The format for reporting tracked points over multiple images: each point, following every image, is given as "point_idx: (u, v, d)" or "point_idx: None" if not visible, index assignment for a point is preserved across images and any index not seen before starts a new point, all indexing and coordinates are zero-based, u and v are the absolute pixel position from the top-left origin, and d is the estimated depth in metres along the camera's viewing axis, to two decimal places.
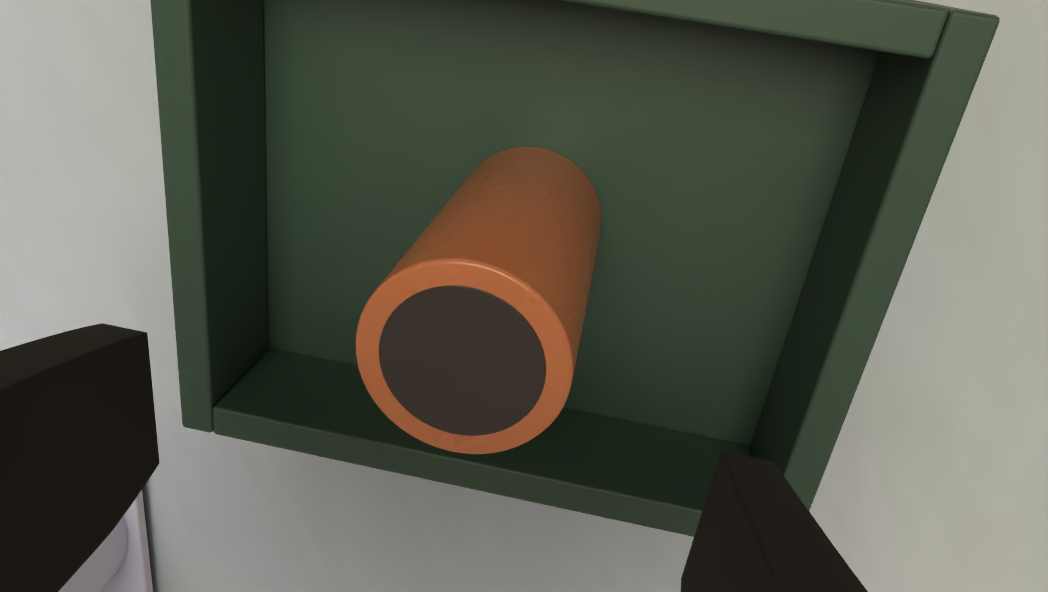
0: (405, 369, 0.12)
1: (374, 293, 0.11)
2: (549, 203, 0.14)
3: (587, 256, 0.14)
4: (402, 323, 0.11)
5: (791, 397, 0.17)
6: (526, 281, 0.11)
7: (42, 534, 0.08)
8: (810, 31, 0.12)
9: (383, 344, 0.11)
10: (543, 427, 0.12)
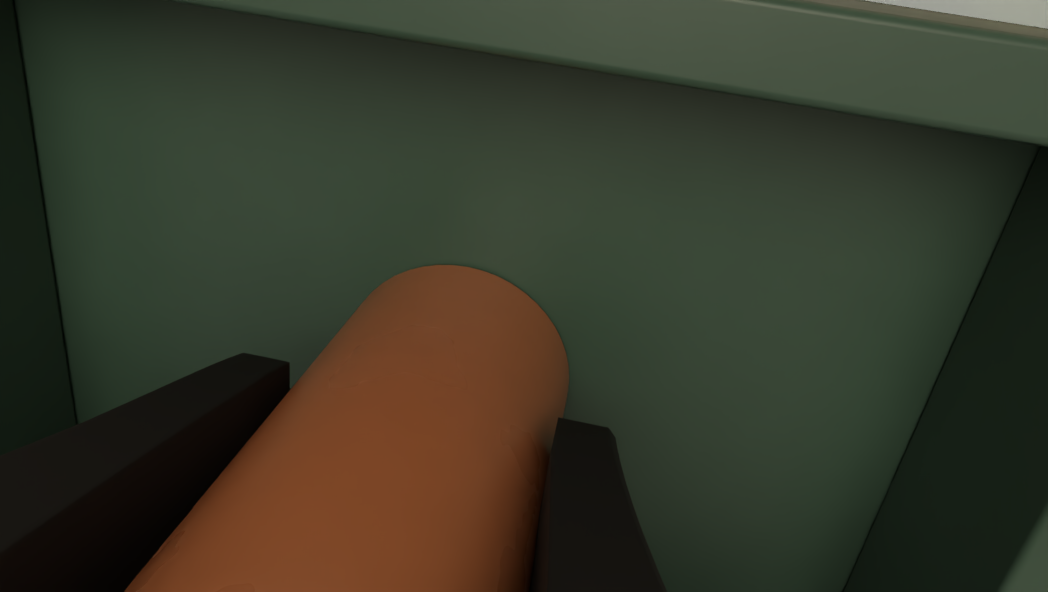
0: None
1: None
2: (458, 417, 0.08)
3: (529, 509, 0.08)
4: None
5: None
6: None
7: None
8: (977, 118, 0.06)
9: None
10: None
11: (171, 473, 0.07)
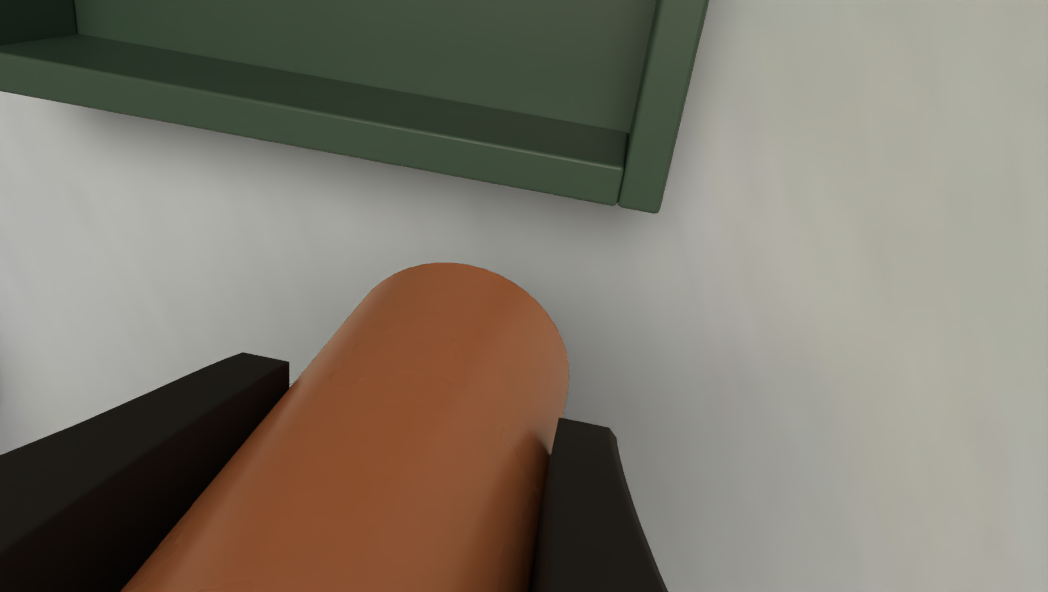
0: None
1: None
2: (458, 413, 0.08)
3: (529, 506, 0.08)
4: None
5: (656, 11, 0.14)
6: None
7: None
8: None
9: None
10: None
11: (170, 473, 0.07)
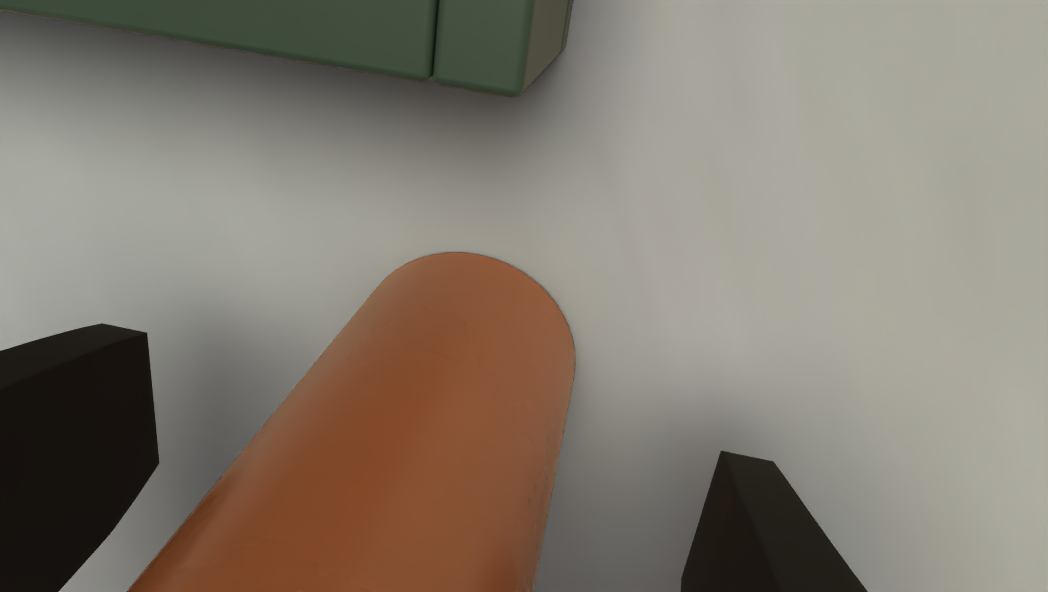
0: None
1: None
2: (472, 392, 0.08)
3: (539, 481, 0.08)
4: None
5: None
6: None
7: (42, 534, 0.08)
8: None
9: None
10: None
11: None
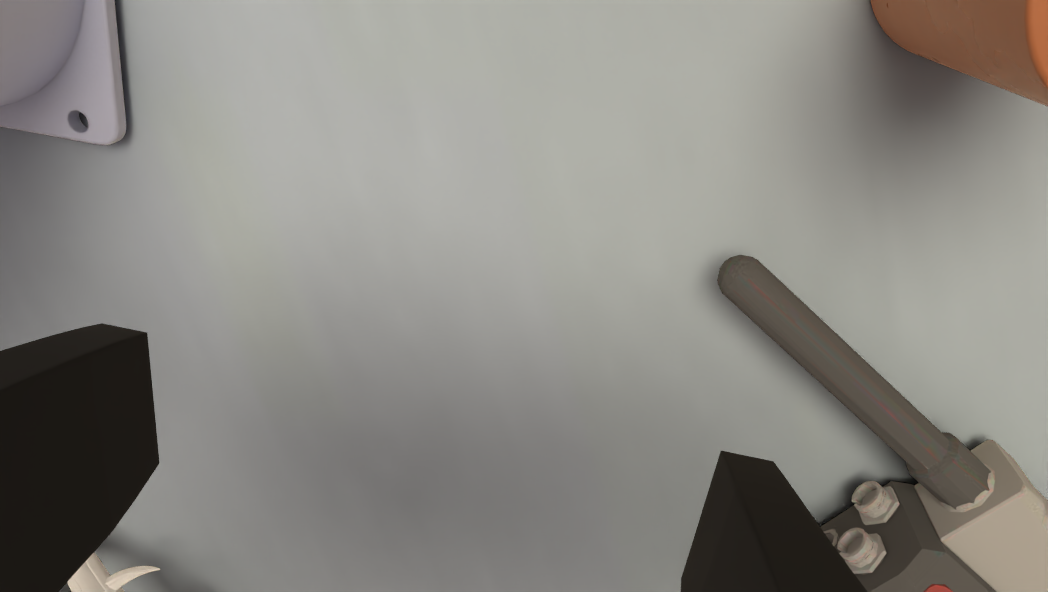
0: None
1: None
2: None
3: None
4: None
5: None
6: None
7: (42, 534, 0.08)
8: None
9: None
10: None
11: None
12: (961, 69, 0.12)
